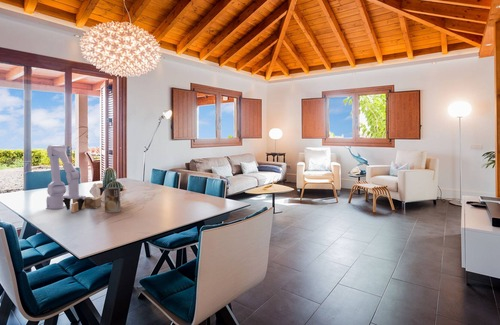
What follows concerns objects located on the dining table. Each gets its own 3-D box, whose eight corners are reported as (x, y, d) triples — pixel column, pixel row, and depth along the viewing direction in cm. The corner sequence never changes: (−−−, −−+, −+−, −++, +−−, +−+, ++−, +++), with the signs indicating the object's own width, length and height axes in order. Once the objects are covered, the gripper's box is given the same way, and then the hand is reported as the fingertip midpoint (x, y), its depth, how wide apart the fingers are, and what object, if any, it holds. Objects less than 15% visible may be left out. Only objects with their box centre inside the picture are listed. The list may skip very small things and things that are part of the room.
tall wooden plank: (71, 212, 189) (71, 203, 189) (82, 207, 201) (81, 200, 201) (74, 212, 189) (74, 204, 189) (84, 207, 201) (84, 200, 201)
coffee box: (121, 210, 199) (120, 187, 197) (119, 212, 192) (119, 188, 191) (106, 210, 196) (106, 187, 195) (104, 212, 190) (104, 189, 189)
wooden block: (72, 207, 202) (72, 198, 201) (79, 205, 210) (79, 195, 209) (95, 208, 202) (95, 198, 201) (101, 205, 210) (101, 196, 210)
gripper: (58, 190, 185) (59, 210, 186) (81, 190, 185) (81, 211, 187) (65, 188, 192) (66, 208, 193) (87, 188, 192) (87, 208, 194)
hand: (74, 209), depth 190 cm, fingers open, 7 cm apart
